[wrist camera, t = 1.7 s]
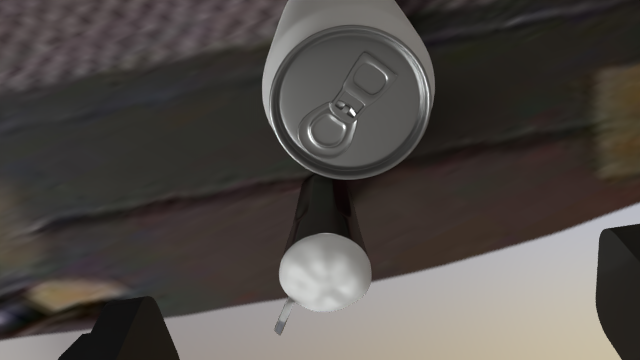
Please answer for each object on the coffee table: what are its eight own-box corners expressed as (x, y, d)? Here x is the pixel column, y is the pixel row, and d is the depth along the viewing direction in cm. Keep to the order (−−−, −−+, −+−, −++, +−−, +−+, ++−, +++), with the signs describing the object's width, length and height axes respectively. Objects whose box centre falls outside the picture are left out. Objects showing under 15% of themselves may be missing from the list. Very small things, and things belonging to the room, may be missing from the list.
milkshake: (263, 199, 34) (243, 305, 25) (329, 148, 33) (331, 242, 24) (311, 244, 36) (307, 359, 27) (375, 198, 34) (394, 304, 25)
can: (257, 44, 30) (220, 127, 19) (327, -60, 27) (330, -32, 17) (351, 110, 31) (366, 220, 21) (425, 17, 29) (484, 88, 18)
